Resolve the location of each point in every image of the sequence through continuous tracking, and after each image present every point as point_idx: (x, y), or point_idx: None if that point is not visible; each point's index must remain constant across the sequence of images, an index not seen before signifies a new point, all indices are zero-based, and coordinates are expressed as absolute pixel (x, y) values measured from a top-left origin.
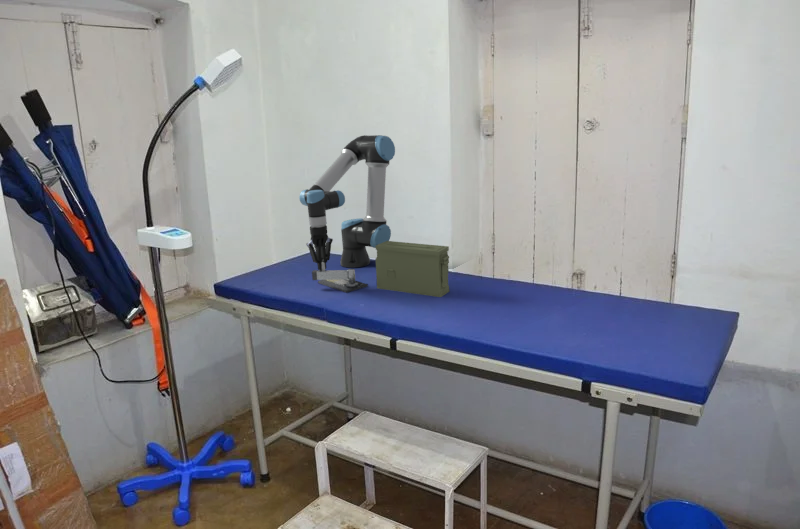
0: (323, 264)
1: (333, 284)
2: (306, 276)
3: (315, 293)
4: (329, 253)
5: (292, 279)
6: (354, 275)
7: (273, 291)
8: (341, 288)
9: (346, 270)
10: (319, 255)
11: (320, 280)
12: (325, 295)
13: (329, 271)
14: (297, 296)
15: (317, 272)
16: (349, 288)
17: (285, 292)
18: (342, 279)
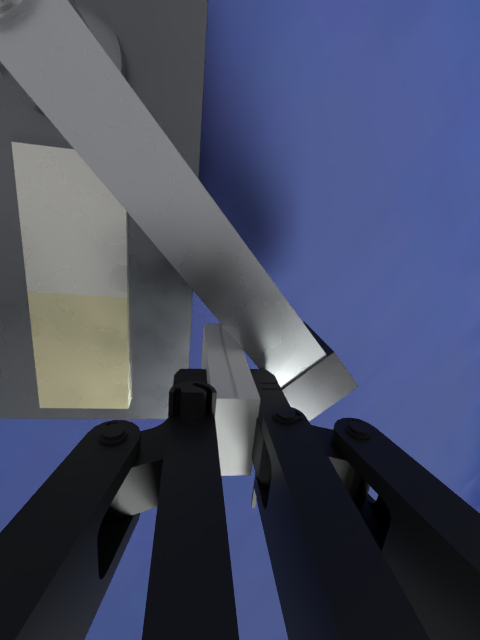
0: (234, 386)
1: (164, 257)
2: (146, 559)
3: (354, 236)
4: (26, 530)
5: (235, 561)
6: None
7: (438, 463)
8: (193, 96)
9: (17, 52)
10: (351, 523)
11: (165, 415)
12: (353, 126)
13: (225, 246)
14: (454, 285)
15: (319, 345)
16: (141, 15)
17: (425, 404)
18: (31, 291)
